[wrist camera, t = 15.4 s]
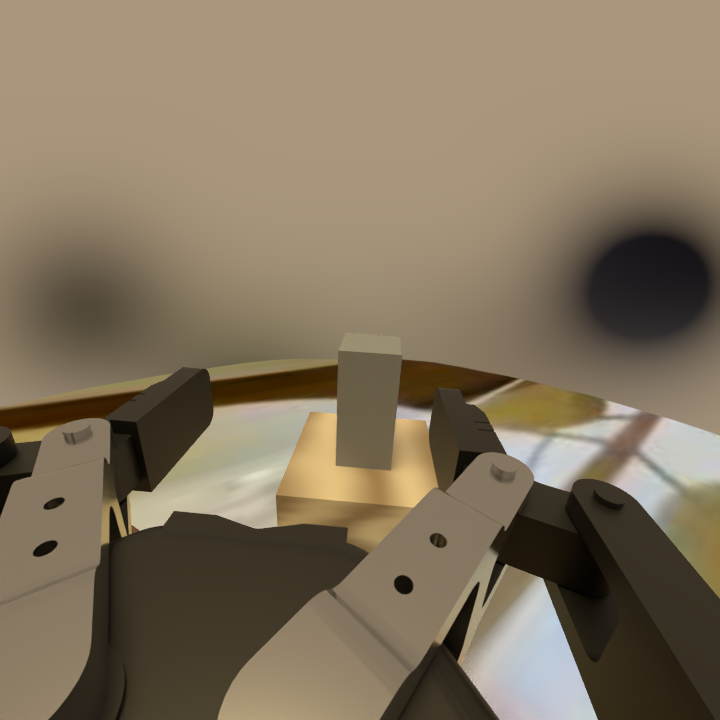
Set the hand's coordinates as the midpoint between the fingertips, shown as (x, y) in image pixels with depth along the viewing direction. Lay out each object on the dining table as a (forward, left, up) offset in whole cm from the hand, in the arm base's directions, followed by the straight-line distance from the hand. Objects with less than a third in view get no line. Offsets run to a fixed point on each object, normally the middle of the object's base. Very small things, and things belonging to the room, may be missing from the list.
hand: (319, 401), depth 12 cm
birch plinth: (-8, +12, -17) cm, 23 cm away
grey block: (-8, +12, -12) cm, 19 cm away
